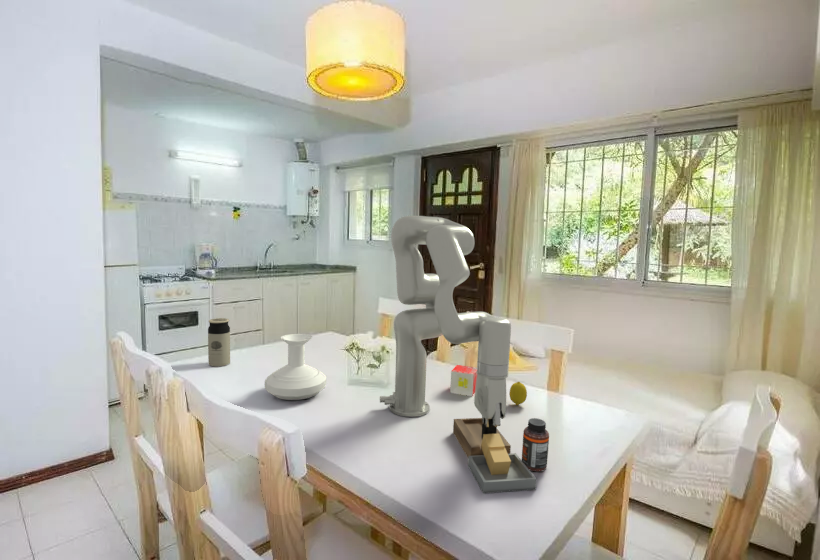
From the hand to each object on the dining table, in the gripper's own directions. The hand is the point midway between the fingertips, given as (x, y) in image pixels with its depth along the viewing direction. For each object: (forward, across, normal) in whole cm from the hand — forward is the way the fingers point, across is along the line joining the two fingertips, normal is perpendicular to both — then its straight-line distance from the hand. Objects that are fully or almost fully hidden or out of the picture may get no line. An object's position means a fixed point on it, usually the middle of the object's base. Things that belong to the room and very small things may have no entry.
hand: (488, 440), depth 106 cm
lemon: (+5, -31, +22) cm, 38 cm away
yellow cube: (+2, +3, 0) cm, 3 cm away
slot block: (+5, -6, 0) cm, 8 cm away
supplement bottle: (+5, +5, +10) cm, 12 cm away
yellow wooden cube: (+1, +5, 0) cm, 5 cm away
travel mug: (+5, -81, -83) cm, 116 cm away
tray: (+5, +8, 0) cm, 10 cm away
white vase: (+5, -47, -50) cm, 69 cm away
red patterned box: (+5, -45, +8) cm, 46 cm away
